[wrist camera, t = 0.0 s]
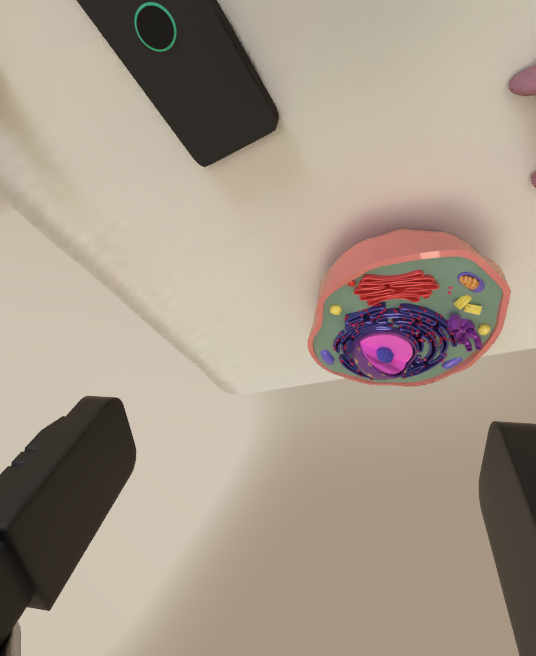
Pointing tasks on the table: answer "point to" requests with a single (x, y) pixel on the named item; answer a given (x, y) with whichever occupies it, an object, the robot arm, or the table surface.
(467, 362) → the cell model
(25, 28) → the table surface
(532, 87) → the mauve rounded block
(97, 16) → the smart home device
